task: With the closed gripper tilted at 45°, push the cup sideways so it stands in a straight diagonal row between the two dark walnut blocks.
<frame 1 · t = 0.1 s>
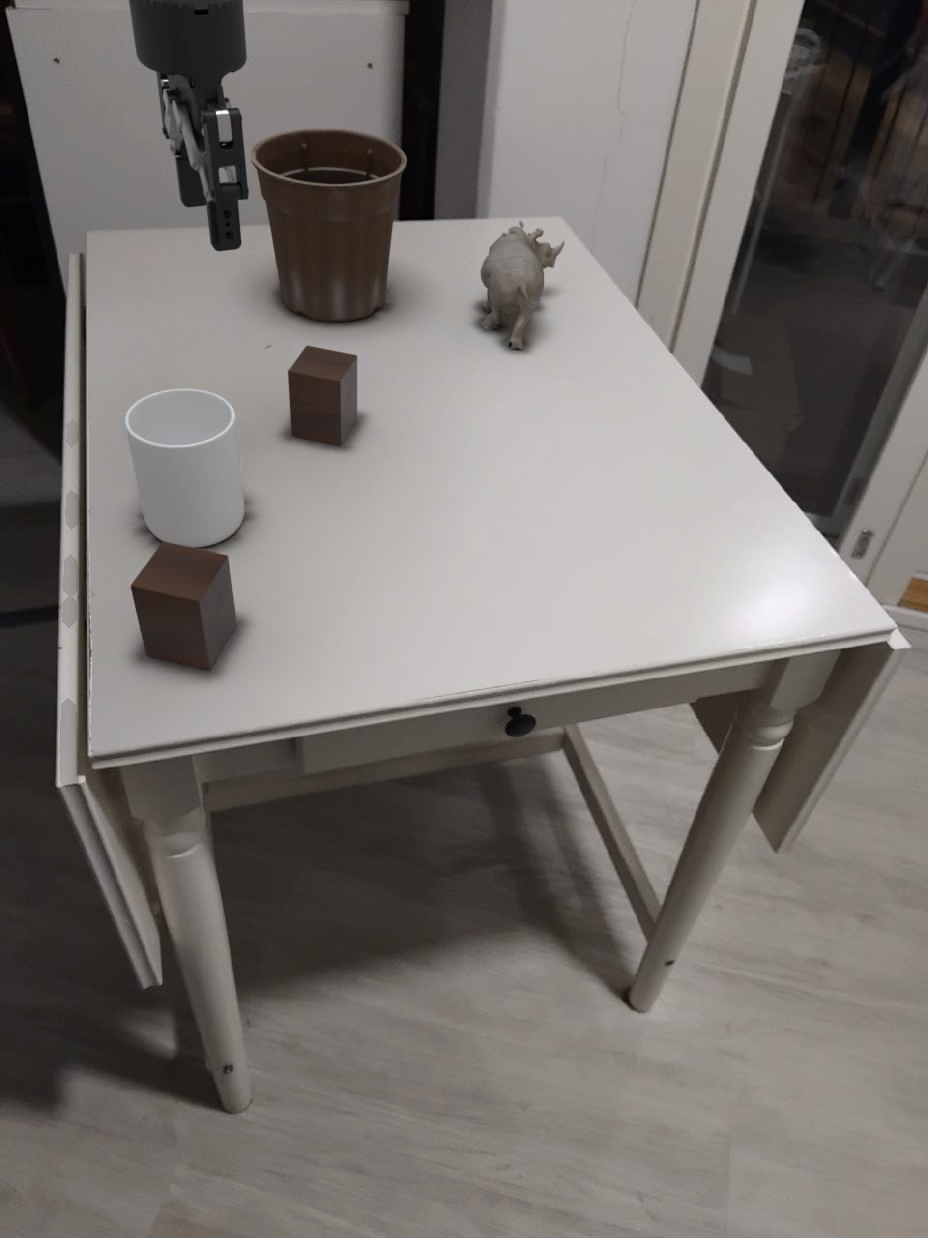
hand: (210, 225, 75), 20 cm above the table, tool pointing down, fingers open, 8 cm apart
plant pot: (332, 300, 111), on the table
block far: (324, 427, 92), on the table
cup: (193, 507, 82), on the table
rhinoceros figurine: (513, 315, 112), on the table
block near: (192, 639, 71), on the table
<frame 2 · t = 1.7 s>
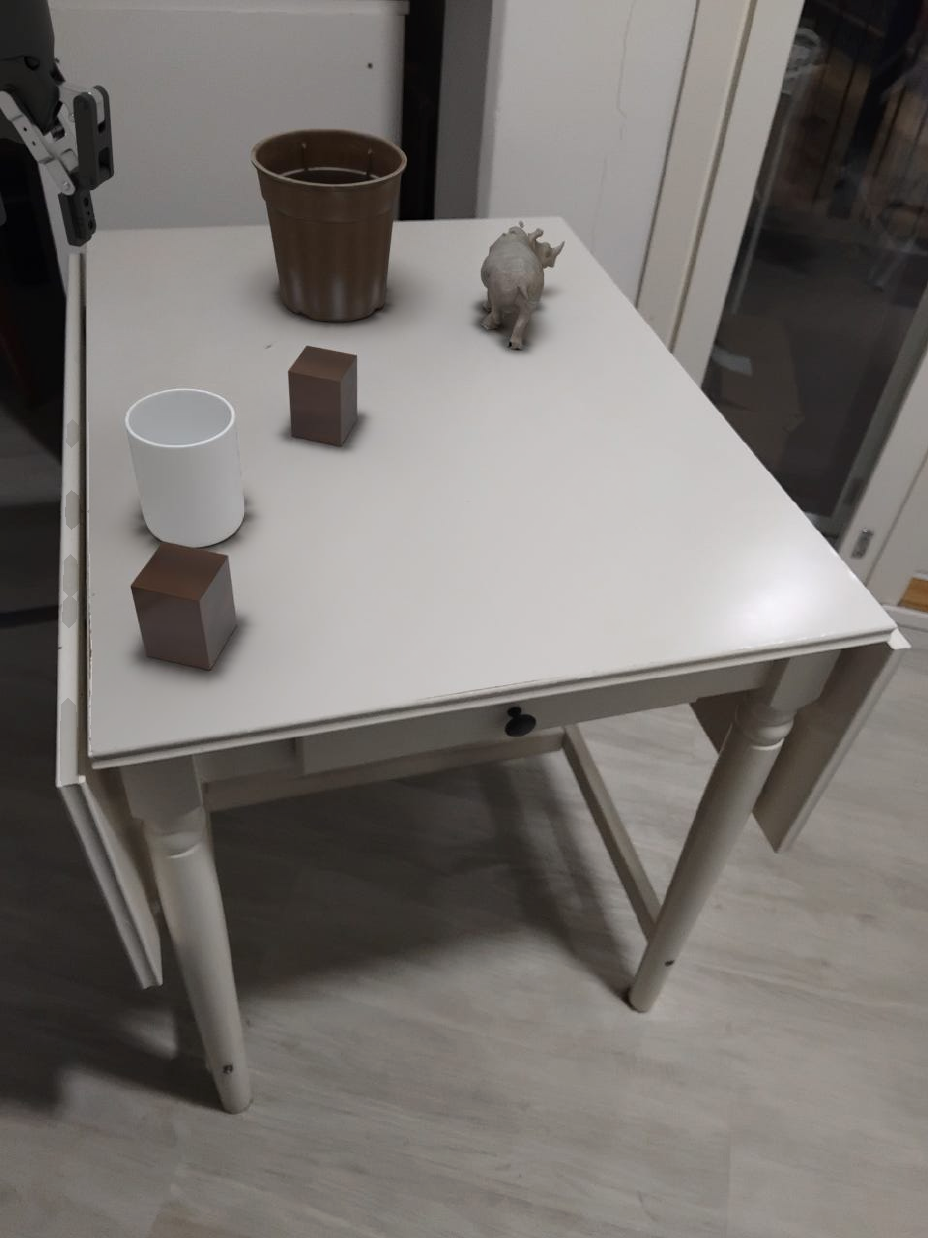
hand: (37, 233, 68), 22 cm above the table, tool pointing down, fingers open, 6 cm apart
nothing on the table moved.
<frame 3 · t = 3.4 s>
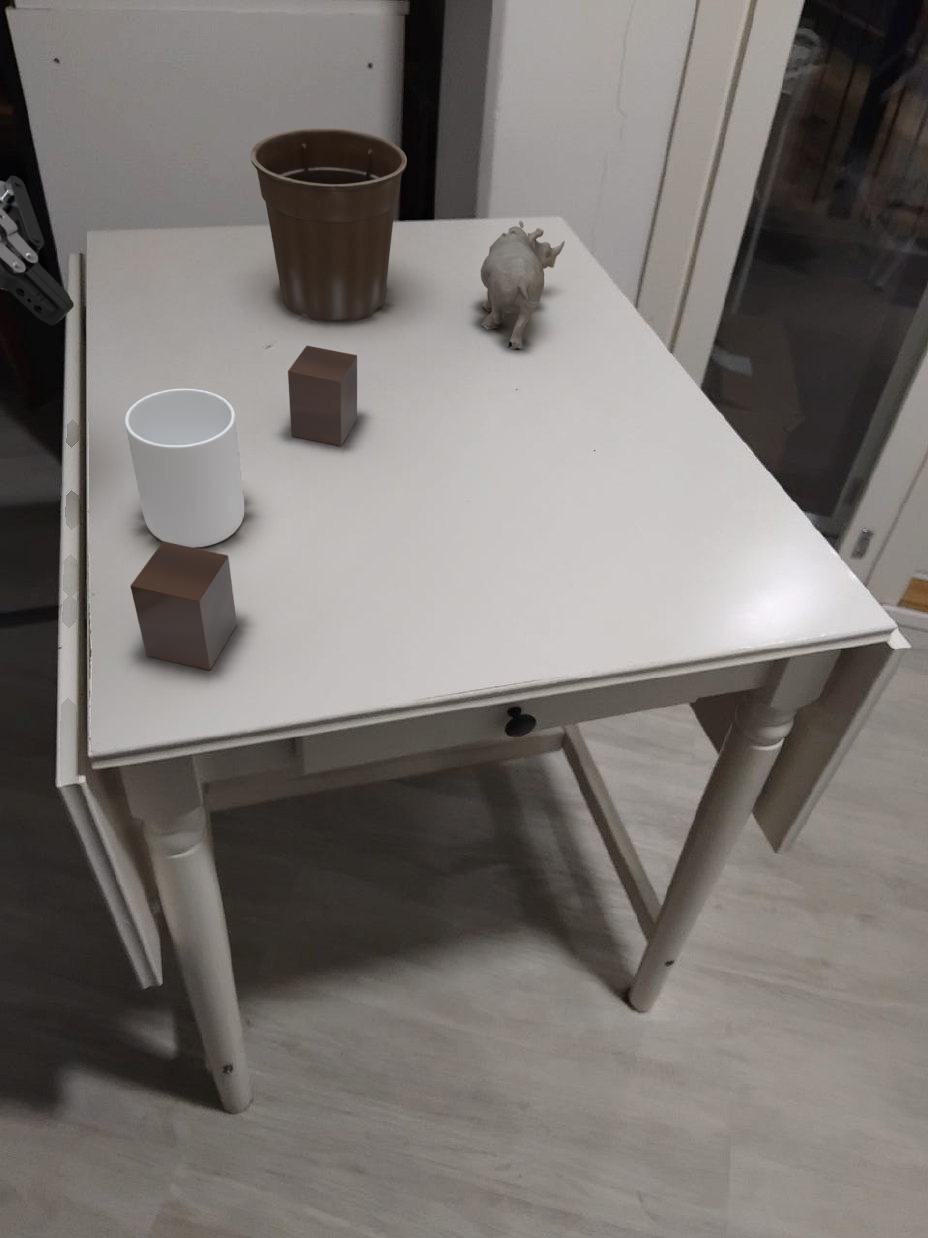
hand: (63, 315, 72), 16 cm above the table, tool tilted 45°, fingers closed
nothing on the table moved.
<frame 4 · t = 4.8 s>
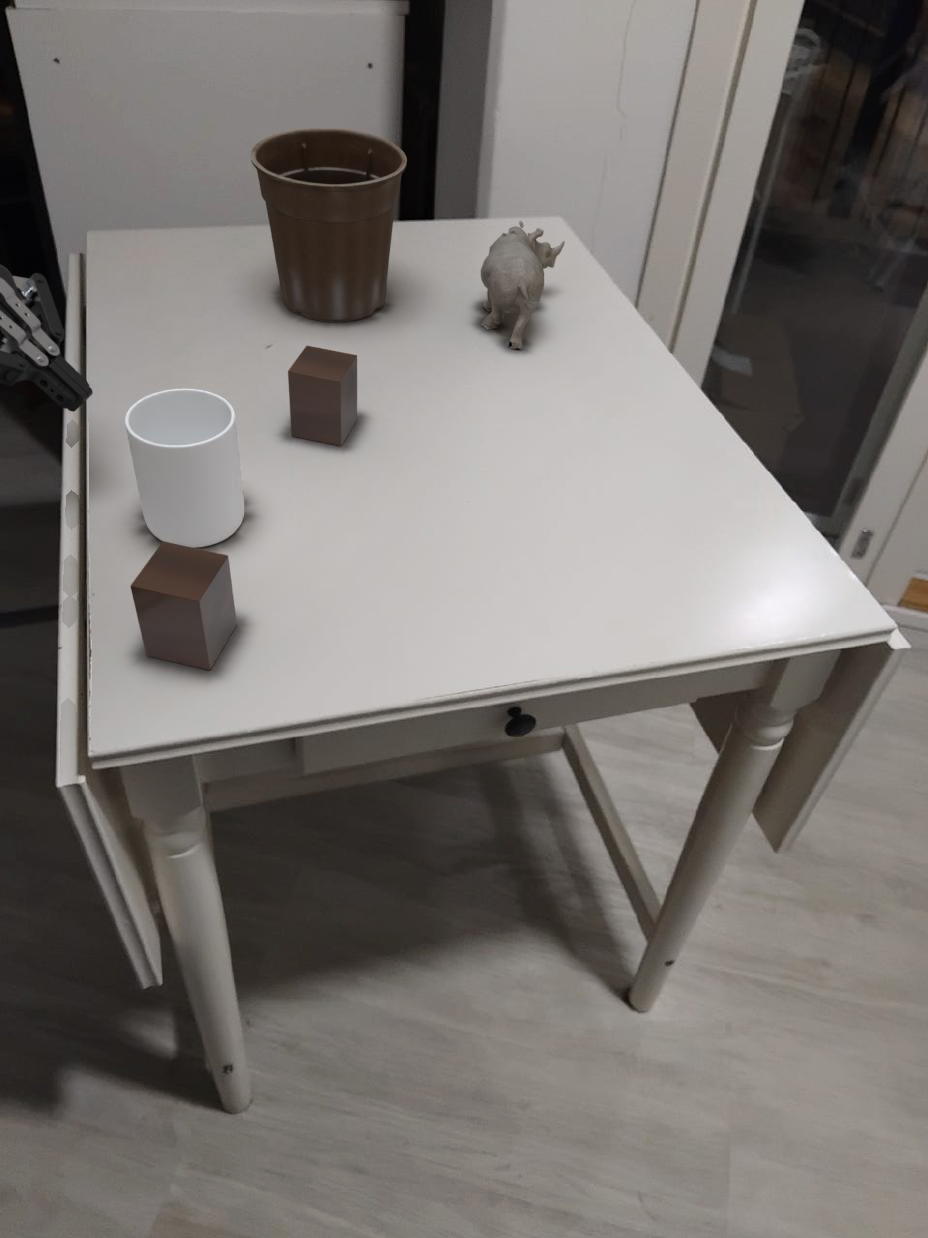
hand: (83, 402, 77), 8 cm above the table, tool tilted 45°, fingers closed
nothing on the table moved.
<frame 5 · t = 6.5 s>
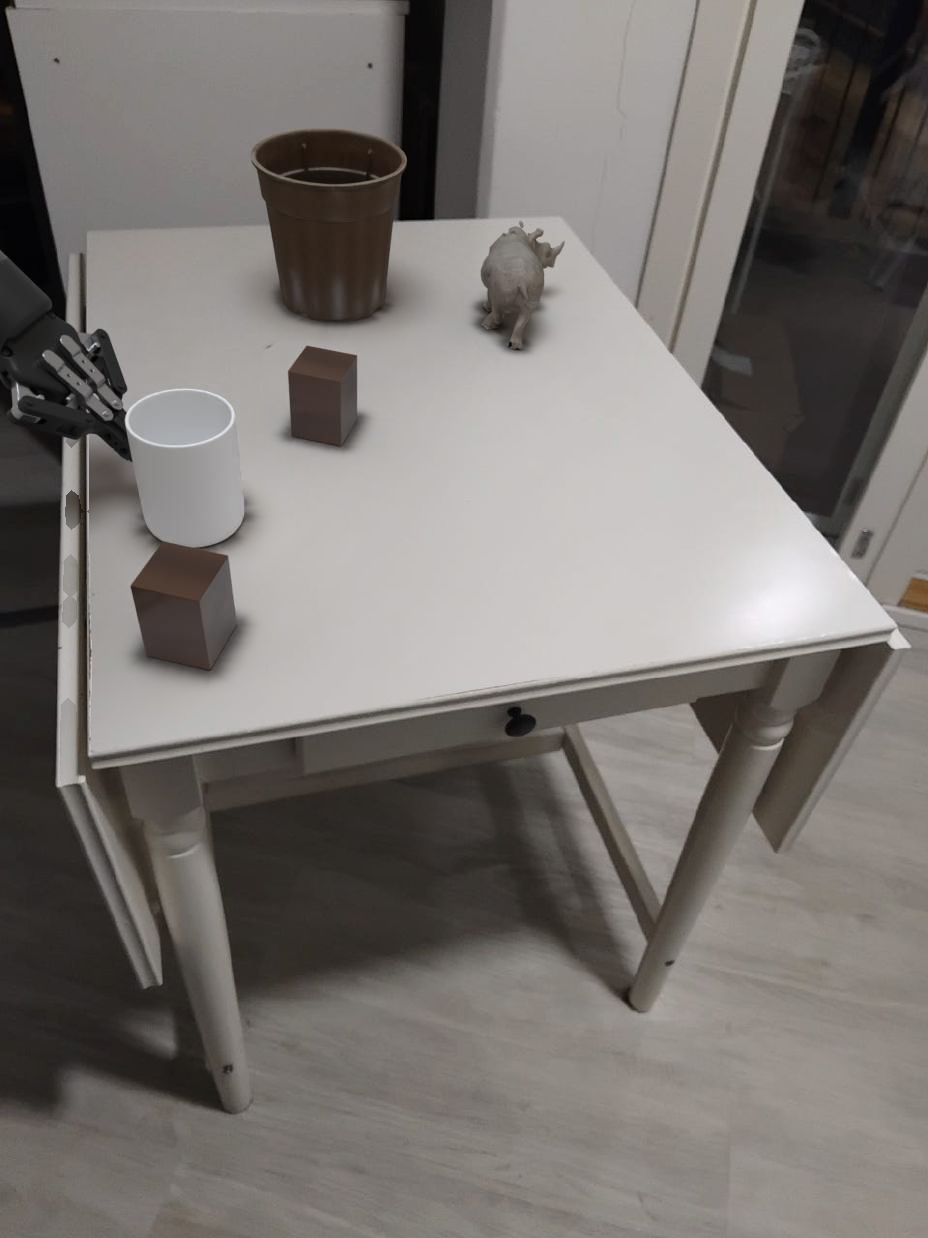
hand: (144, 453, 79), 4 cm above the table, tool tilted 45°, fingers closed
cup: (193, 507, 82), on the table, touching gripper
everything else where it was.
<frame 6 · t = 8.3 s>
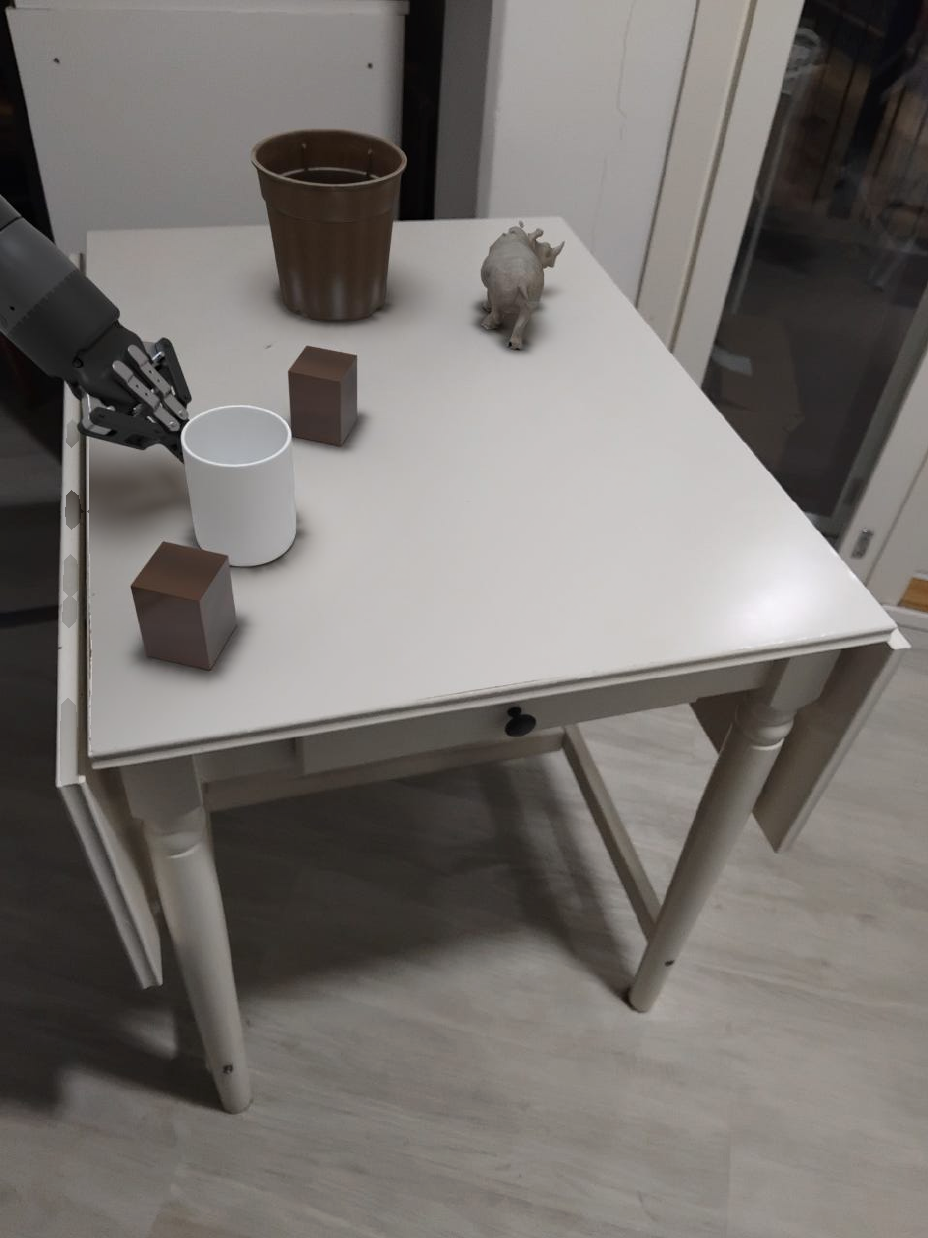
hand: (209, 463, 79), 4 cm above the table, tool tilted 45°, fingers closed
cup: (250, 524, 81), on the table, touching gripper
everything else where it was.
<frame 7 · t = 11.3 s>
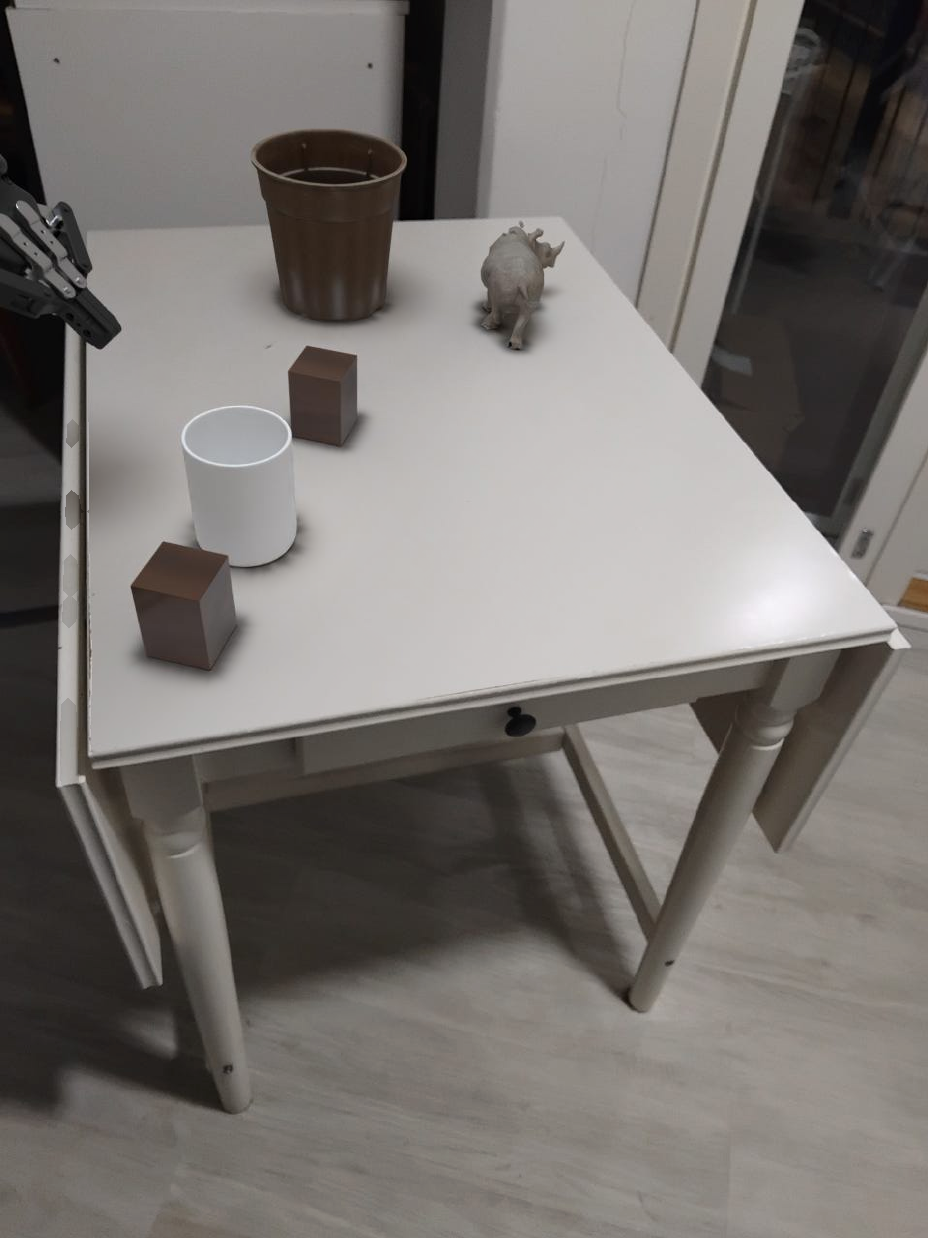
hand: (111, 339, 72), 15 cm above the table, tool tilted 45°, fingers closed
cup: (250, 524, 81), on the table
everything else where it was.
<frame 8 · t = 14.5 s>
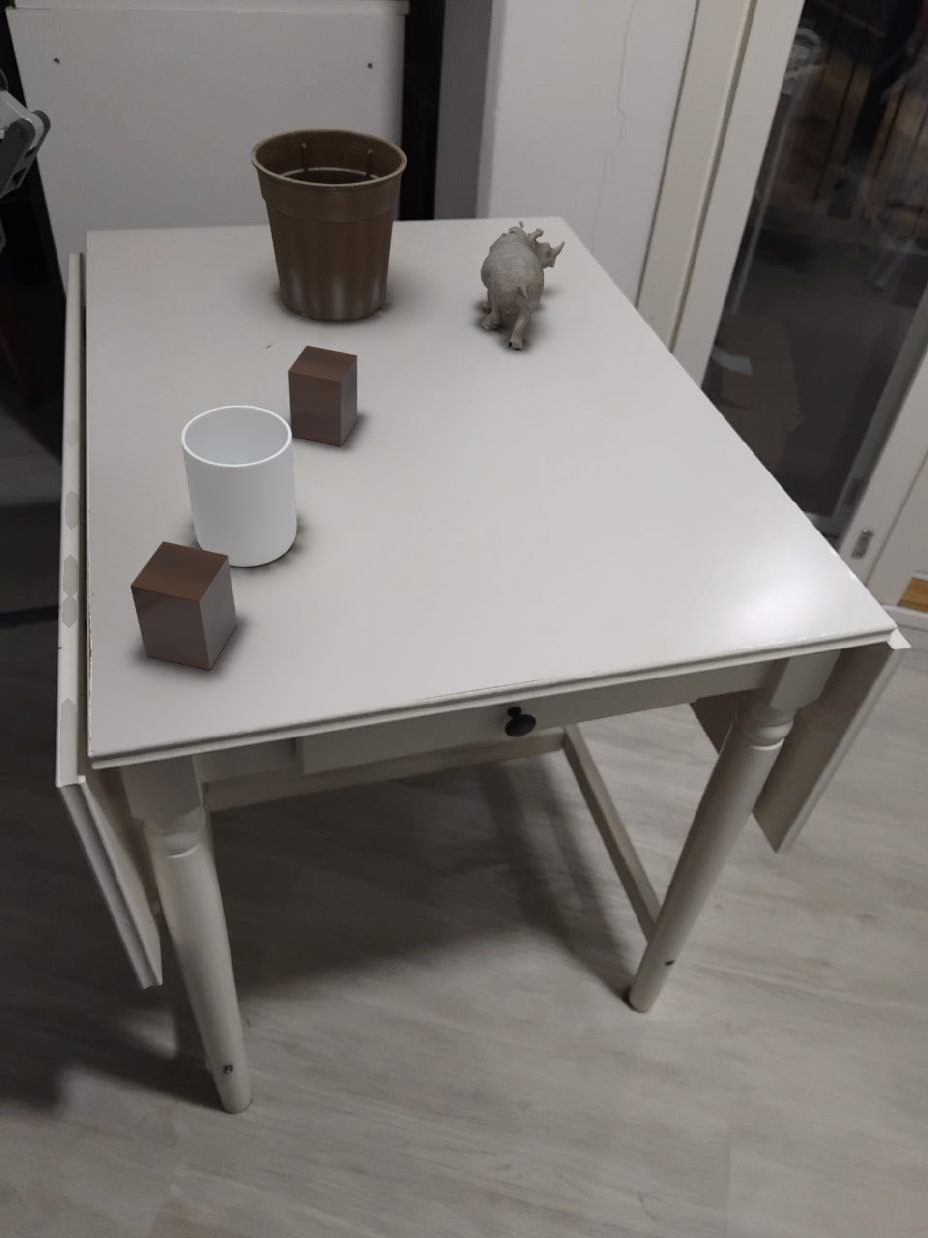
nothing on the table moved.
at the end: cup 1.5 cm from the target spot on the table beside the block near, on the table; cup tilted 0°; block far moved 0.0 cm from its start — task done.
